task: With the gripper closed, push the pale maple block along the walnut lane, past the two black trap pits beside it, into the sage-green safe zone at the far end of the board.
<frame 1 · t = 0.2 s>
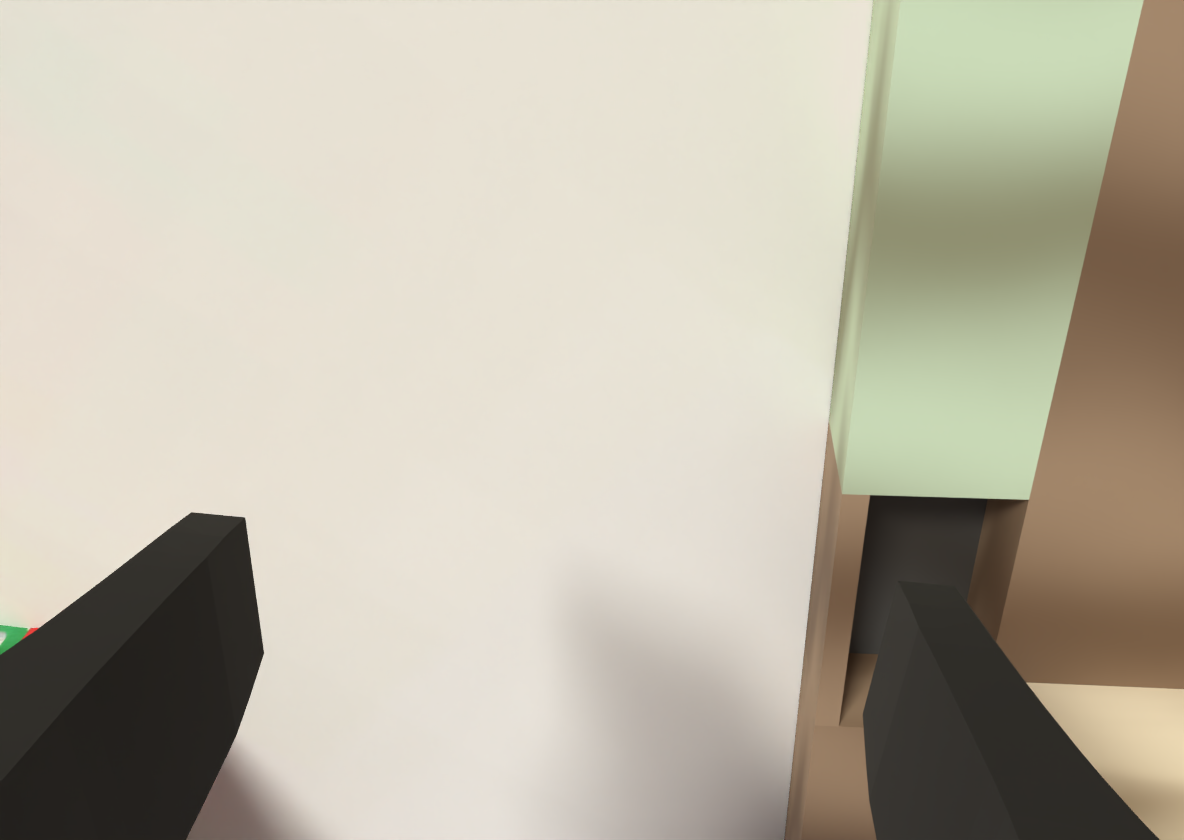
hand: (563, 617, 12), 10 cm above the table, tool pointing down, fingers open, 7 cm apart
trap board: (1124, 576, 24), on the table
maple block: (1126, 773, 23), point 2 cm above the table, touching trap board
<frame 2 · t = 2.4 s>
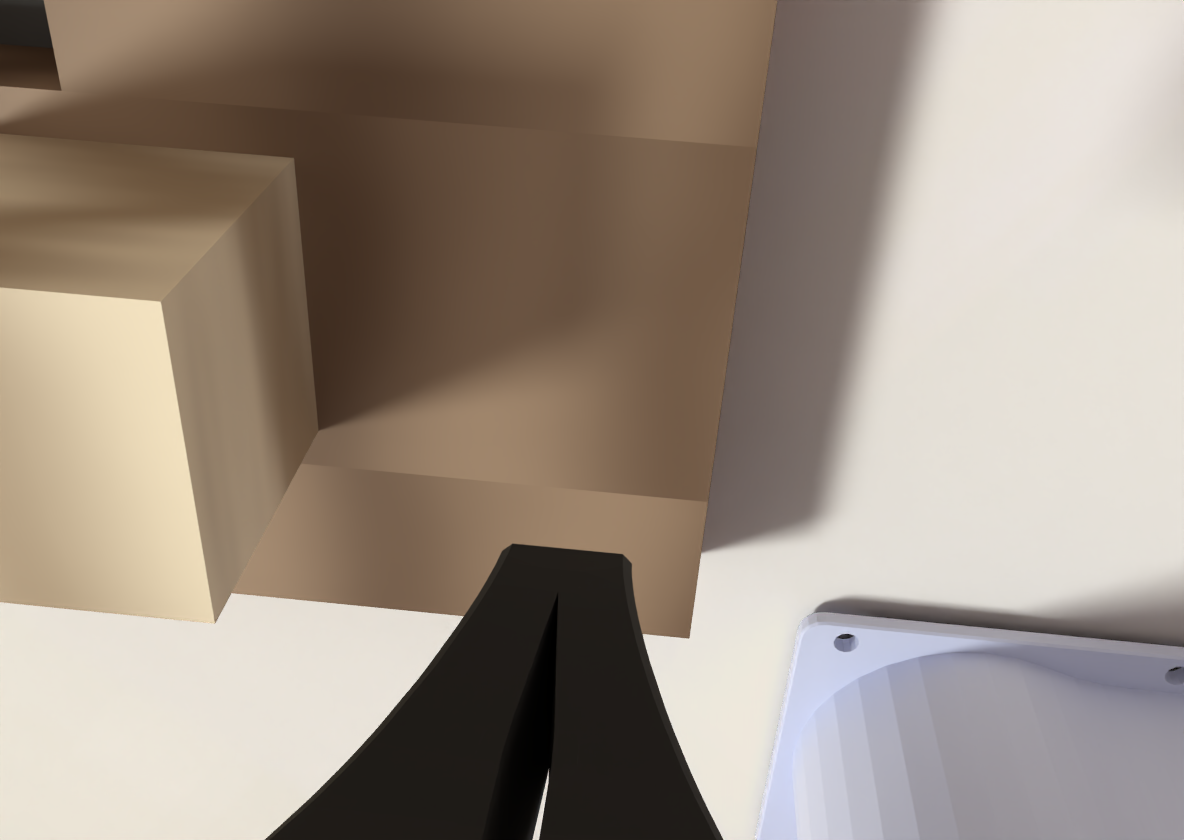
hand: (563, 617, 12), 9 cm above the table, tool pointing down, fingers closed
trap board: (43, 218, 21), on the table
maple block: (159, 291, 19), point 2 cm above the table, touching trap board
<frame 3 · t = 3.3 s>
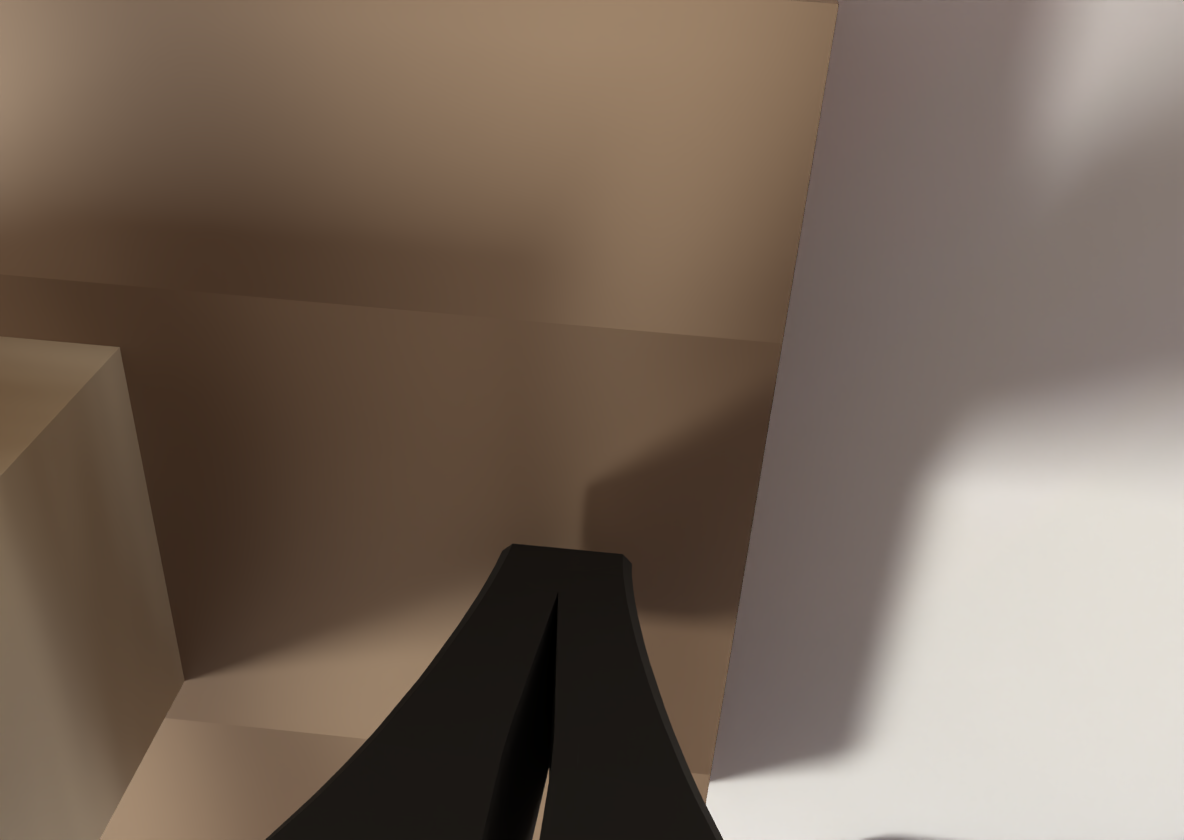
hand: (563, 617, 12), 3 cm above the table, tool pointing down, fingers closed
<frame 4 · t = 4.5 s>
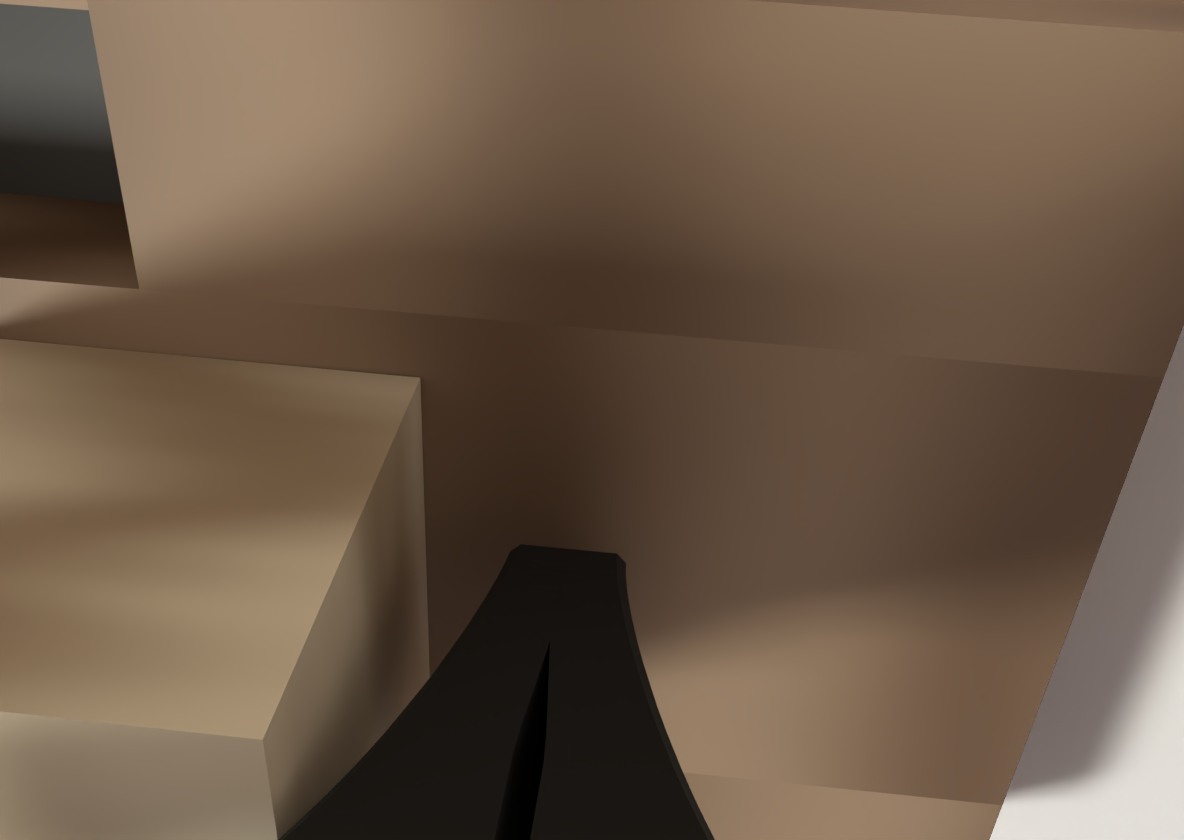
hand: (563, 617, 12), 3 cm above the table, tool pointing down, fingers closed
trap board: (96, 409, 16), on the table
maple block: (219, 539, 13), point 3 cm above the table, touching gripper, trap board
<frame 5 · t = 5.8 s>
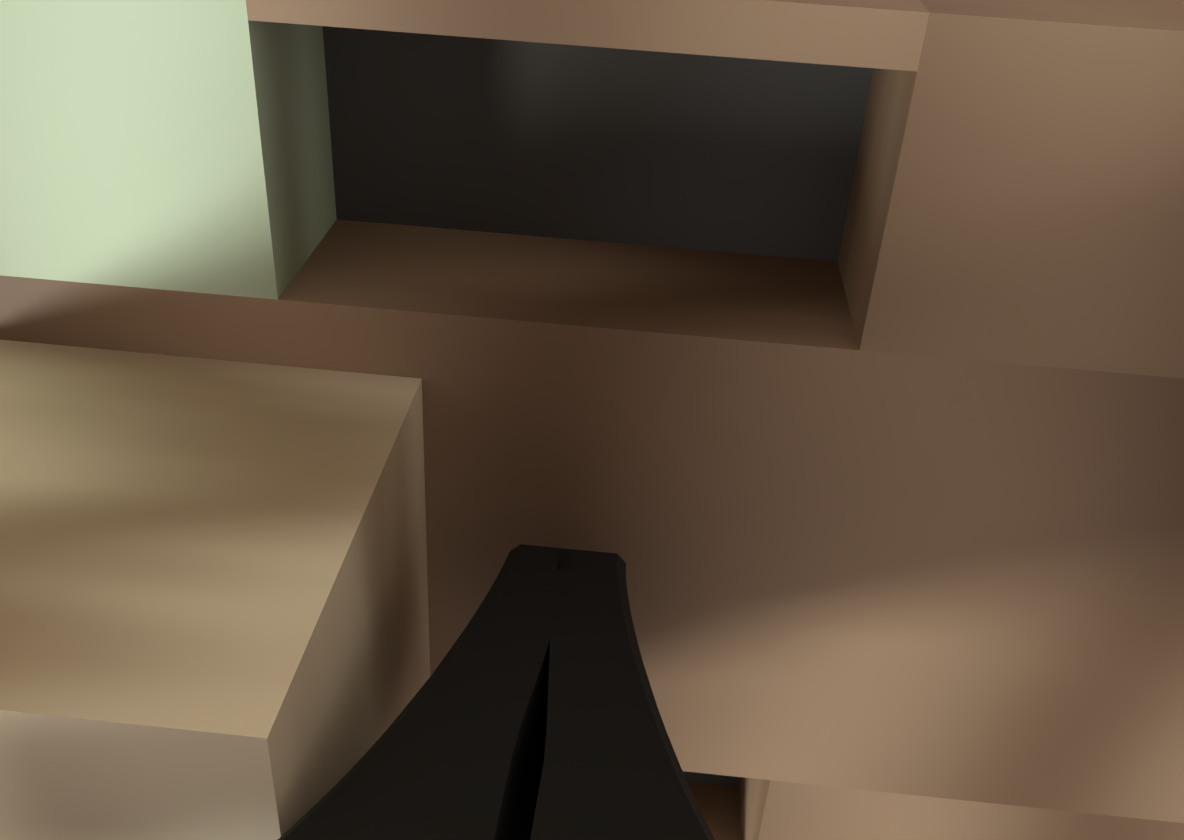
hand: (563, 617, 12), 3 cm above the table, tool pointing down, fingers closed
trap board: (629, 457, 15), on the table
maple block: (220, 539, 13), point 3 cm above the table, touching gripper
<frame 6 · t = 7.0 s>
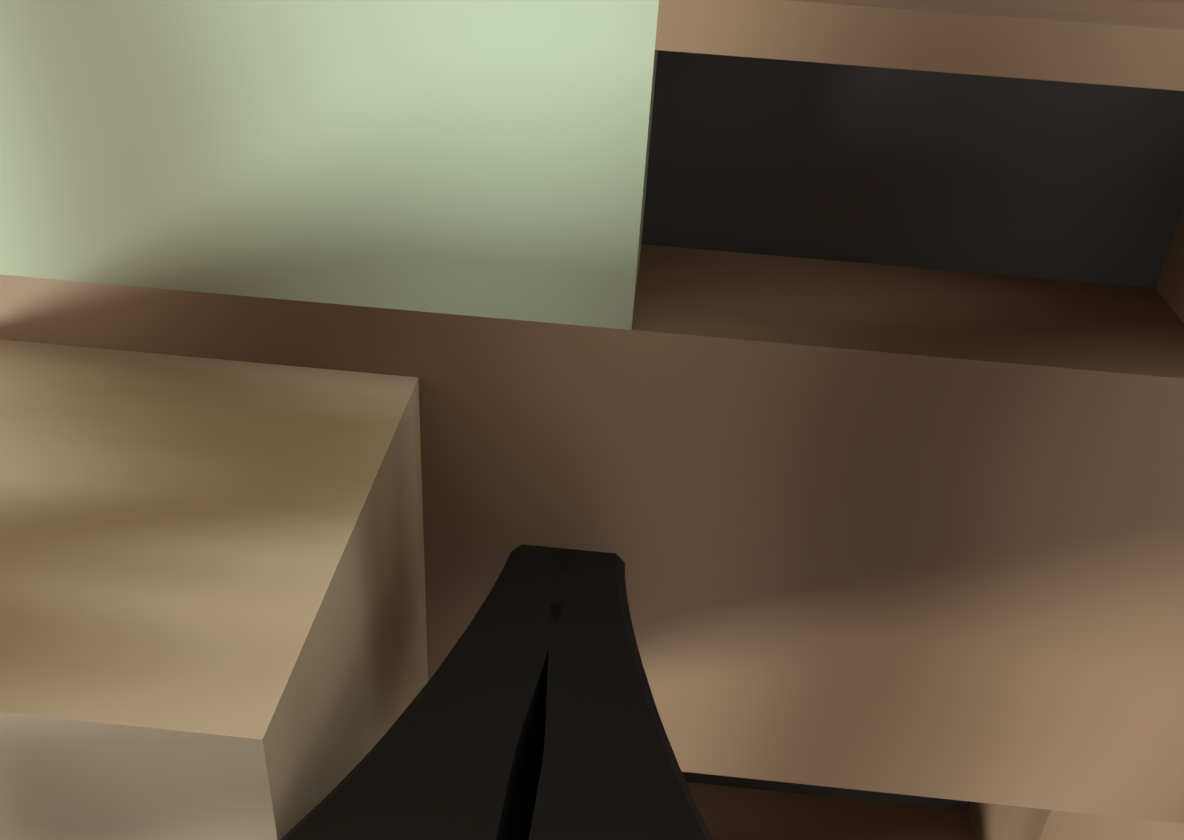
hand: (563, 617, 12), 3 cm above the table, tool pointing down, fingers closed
trap board: (900, 481, 15), on the table
maple block: (217, 539, 13), point 2 cm above the table, touching gripper, trap board
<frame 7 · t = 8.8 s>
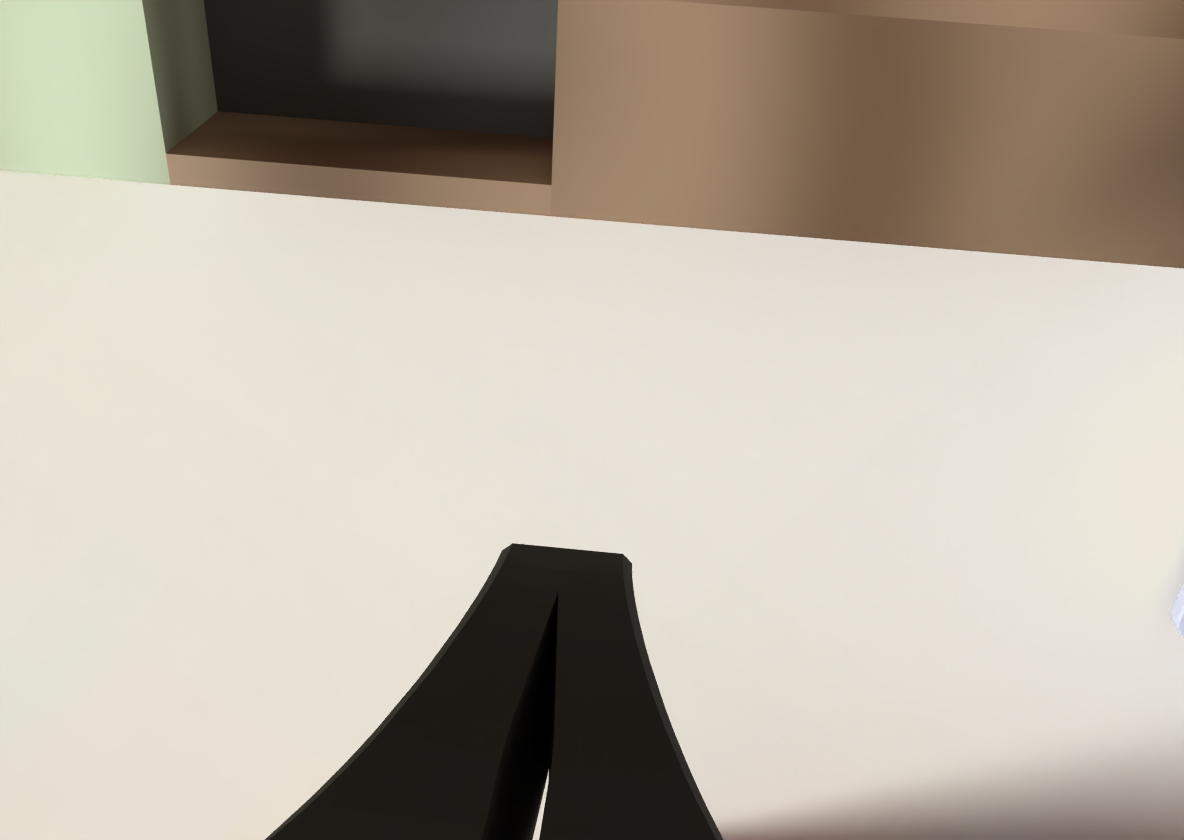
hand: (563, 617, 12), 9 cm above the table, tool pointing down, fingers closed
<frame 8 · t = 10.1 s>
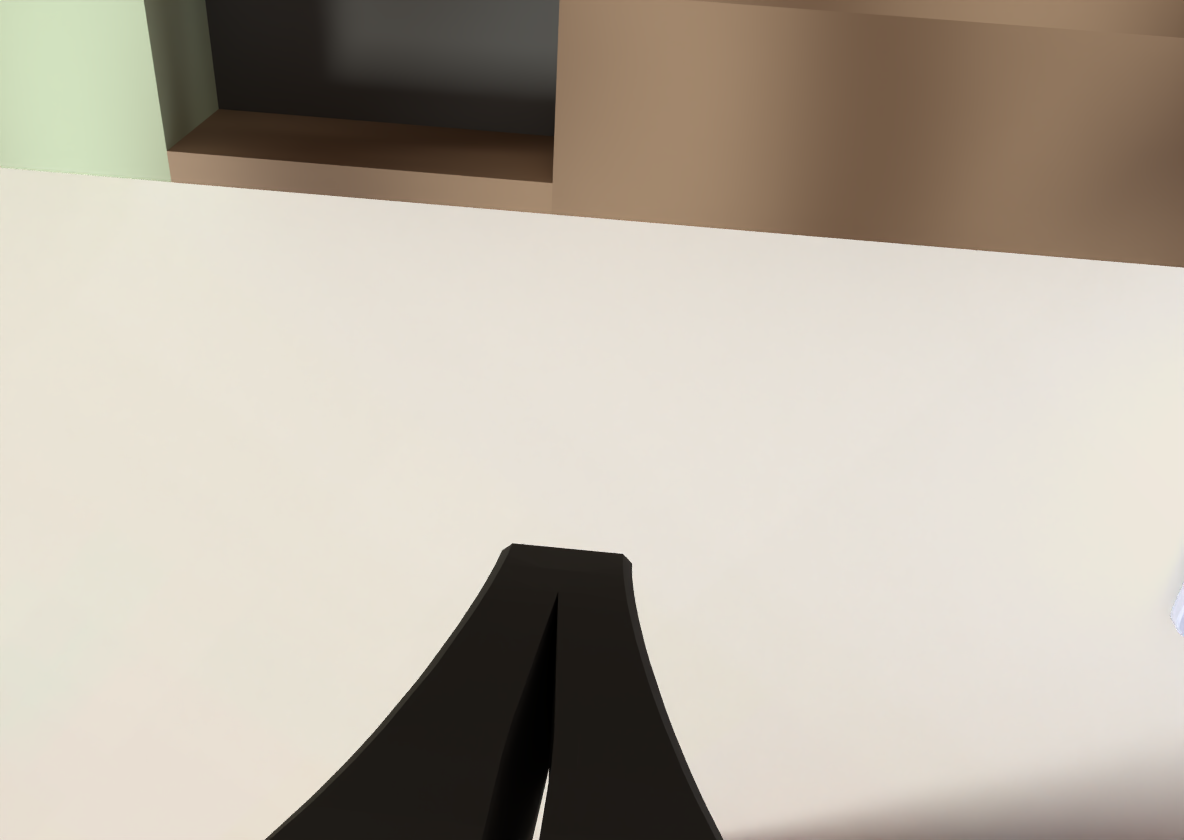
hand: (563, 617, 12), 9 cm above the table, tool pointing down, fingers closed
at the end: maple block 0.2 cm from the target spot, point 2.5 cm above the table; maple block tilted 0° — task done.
